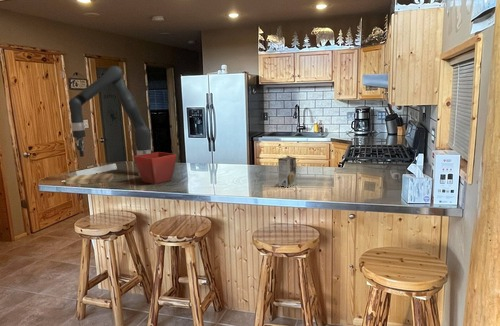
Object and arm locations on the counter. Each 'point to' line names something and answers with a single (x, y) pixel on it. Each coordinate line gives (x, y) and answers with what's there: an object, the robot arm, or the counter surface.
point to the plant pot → (155, 166)
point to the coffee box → (287, 171)
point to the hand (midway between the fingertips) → (82, 156)
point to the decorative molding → (94, 170)
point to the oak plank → (79, 179)
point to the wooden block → (101, 178)
